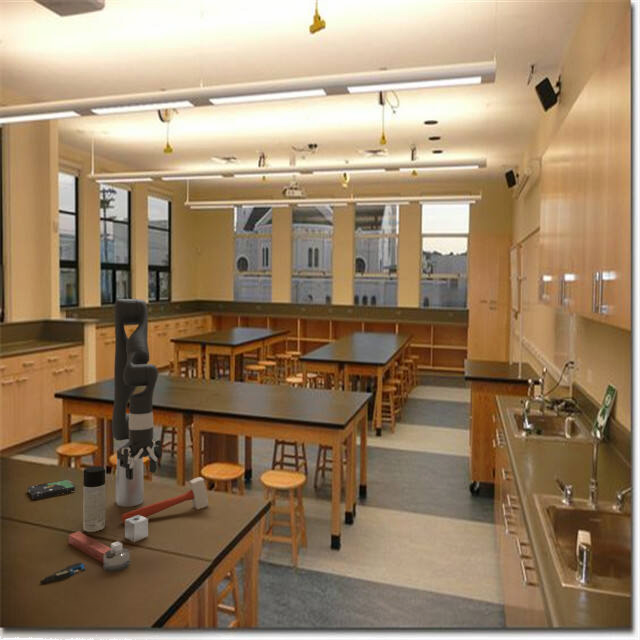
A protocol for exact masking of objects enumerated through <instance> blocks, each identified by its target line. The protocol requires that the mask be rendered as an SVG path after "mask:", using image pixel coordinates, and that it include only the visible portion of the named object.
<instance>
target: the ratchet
mask: <svg viewBox="0 0 640 640" xmlns="http://www.w3.org/2000/svg"><path fill="white" fill-rule="evenodd" d="M68 544H69V545H71V546H73V547H74V548H76V549H78V550H80V551H81V552H83V553H84V554H87V555H88V556H90V557H91V558H93V559H96V560H97V561H99V562H101V563H103V570H104V571H106V572H109V573H117V572H121V571H124V570H126V569H128V568H129V566H130V565H131V562H130V561H131V558H130V553H131V552H130V550H129V549H128V548H124V547H123V542H121V541H119V540H117V541H115V542H112V543H110V547H109V546H107V545H105V544H103V543H102V542H100V541H98V540H96V539H94V538H93V537H90V536H88V535H86V534H85V533H83V532H81V531H79V530H78V531H76V532H72V533H70V534H68Z"/></svg>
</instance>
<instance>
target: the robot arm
mask: <svg viewBox="0 0 640 640" xmlns="http://www.w3.org/2000/svg"><path fill="white" fill-rule="evenodd" d="M113 313H114V334H115V337H114V339H115V340H114V341H115V343H114V345H115V352H114V367H113V368H114V394H113V395H114V398H113V409H112V417H111V418H112V420H111V432H112V436H113V438H114V439H115V440H116V441H125V440H126V441H127V440H128V442H127V443H125V444H123V446H121V447H119V448H118V449H117V451H116V476H115V502H116V505H117V506H118V507H122V508H123V507H124V508H129V507H136V506H139V505H141V504H142V503H144V458H148V459H149V473H152V474H155V473H156V471H157V461H158V459H161V458H162V456H163V453H162V452H163V451H162V440H159V439H156V438H155V439H154V413H153V397H154V392H155V387H156V384H157V381H158V377H159V371H158V368H157V366H156V365H155V364H153V363H149V361H150V351H149V344H148V331H149V330H148V328H149V325H148V324H149V323H148V322H149V321H148V319H149V317H148V316H149V314H148V305H147V302H146V301H145V300H144V299H139V298H138V299H137V298H118V299H117V300H116V301H115V302H114V309H113ZM126 325H128V326H129V325H131V326H132V325H133V326H135V325H136V326H137V327H136V329H135V330H134V331H133V332H132V333H131V335H129V336H128V335H127V333H126V331H125V326H126ZM138 387H145V388H144V389H143V390H142V391H139V392H137V393H134V392H135V390H136V389H137V388H138ZM128 404H129V408H128V409H129V413H127V407H128ZM153 439H154V440H153ZM152 449H153V450H152Z"/></svg>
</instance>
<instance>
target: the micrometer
mask: <svg viewBox="0 0 640 640" xmlns="http://www.w3.org/2000/svg"><path fill="white" fill-rule="evenodd" d="M79 569H80V570H81V571H85V570H86V569H85V564H84V563H82V562H77V563H74V564H73V563H72V564H71V565H67V566H66V567H65V568H62V569H60V570H58V571H55V572H54V573H53V574H51V575H47V576H45V577H44V579H41V580H40V582H39V584H44V583H45V584H49V583H52V582H58V581H59V582H60V581H62V580H65V579H67V578H70V577H71V576H73V575H74V574H75V573H77V572H79V571H80V570H79Z"/></svg>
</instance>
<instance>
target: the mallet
mask: <svg viewBox="0 0 640 640" xmlns="http://www.w3.org/2000/svg"><path fill="white" fill-rule="evenodd" d="M189 489H190V490H188V491H187V492H185V493H183V494H181V495H178V496H174V497H172V498H168V499H165V500H162V501H158V502H155V503H152V504H149V505H146V506H143V507H140V508H137V509H134V510H131V511H128V512H125V513H122V514H121V516H120V520H121V522H122V523H123V525H124V526H125V520H126V519H128V518H131V517H134V516H136V515H140V516H143V517H145V518H148V517H150V516H153V515H155V514H157V513H160V512H162V511H165V510H167V509H169V508H171V507H173V506H175V505H178V504H181V503H183V502H186V501H191V503H192V506H194V507H193V508H194V509H196V510H201V509H203V508H206V507H209V501H208V492H207V486H206V484H205V479H204V478H203V477H201V476H198V477H195V478H193V479H191V480H190V481H189ZM200 508H201V509H200Z"/></svg>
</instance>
